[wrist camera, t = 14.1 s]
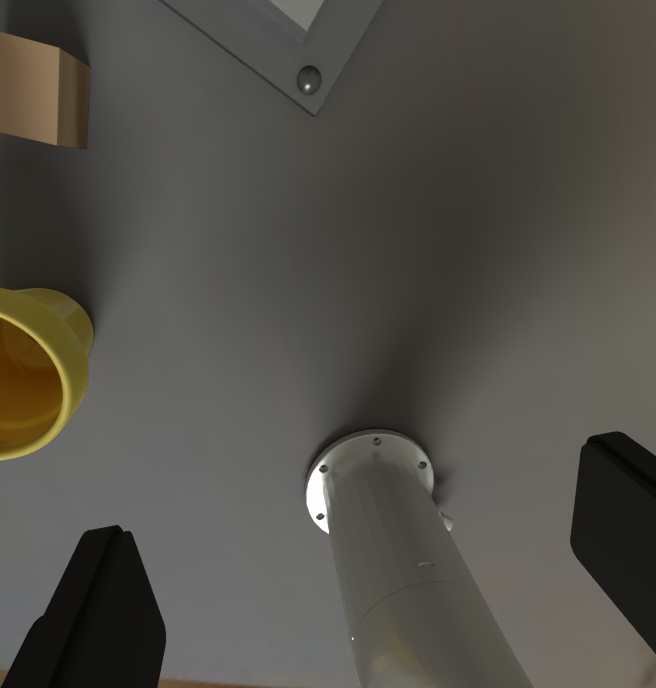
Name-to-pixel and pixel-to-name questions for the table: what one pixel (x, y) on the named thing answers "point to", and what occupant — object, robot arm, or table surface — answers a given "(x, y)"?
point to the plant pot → (40, 366)
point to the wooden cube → (43, 93)
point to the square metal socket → (285, 39)
